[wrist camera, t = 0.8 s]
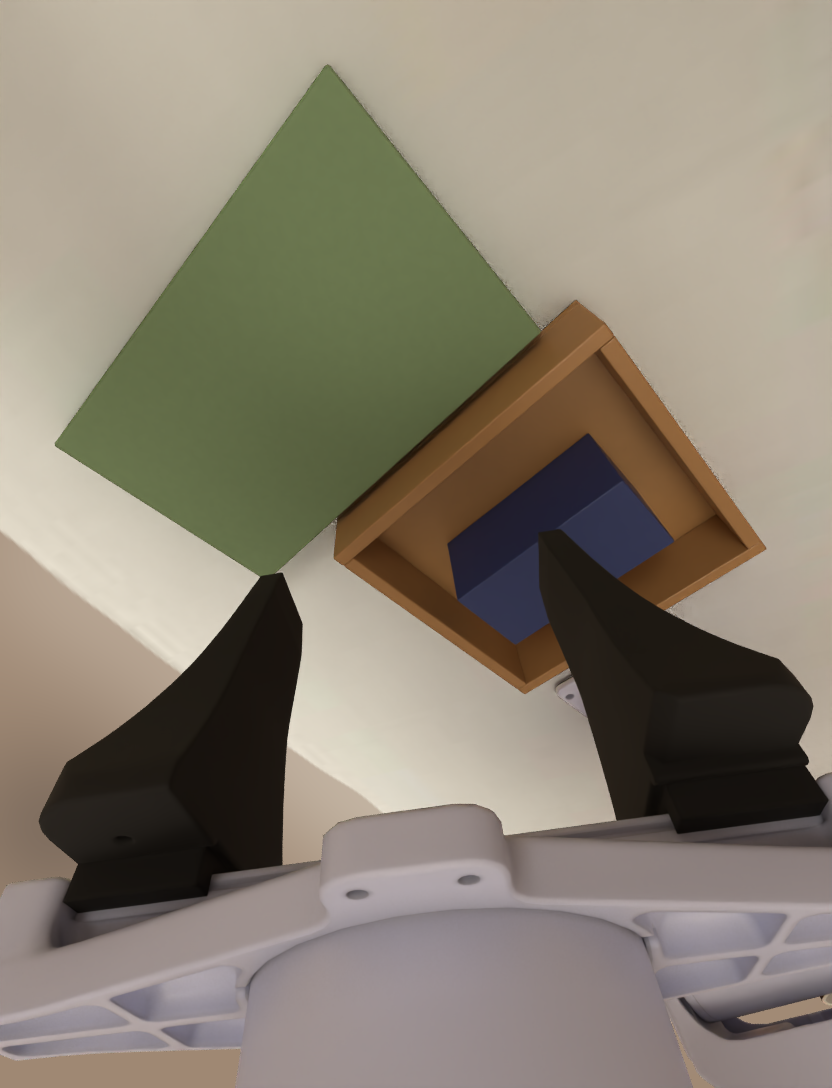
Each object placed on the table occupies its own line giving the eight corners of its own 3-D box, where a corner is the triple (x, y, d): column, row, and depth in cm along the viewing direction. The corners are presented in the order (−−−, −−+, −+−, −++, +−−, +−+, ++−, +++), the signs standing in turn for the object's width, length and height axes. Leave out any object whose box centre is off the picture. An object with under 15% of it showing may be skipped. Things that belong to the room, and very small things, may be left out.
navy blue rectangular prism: (636, 489, 25) (675, 541, 21) (498, 587, 28) (515, 645, 24) (588, 432, 23) (623, 480, 20) (446, 543, 26) (456, 600, 23)
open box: (728, 508, 26) (767, 549, 23) (512, 649, 31) (524, 694, 28) (575, 299, 20) (605, 322, 17) (336, 515, 25) (332, 559, 22)
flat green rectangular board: (534, 323, 20) (542, 332, 19) (270, 565, 26) (266, 581, 25) (330, 66, 16) (327, 62, 15) (67, 432, 22) (52, 445, 21)
